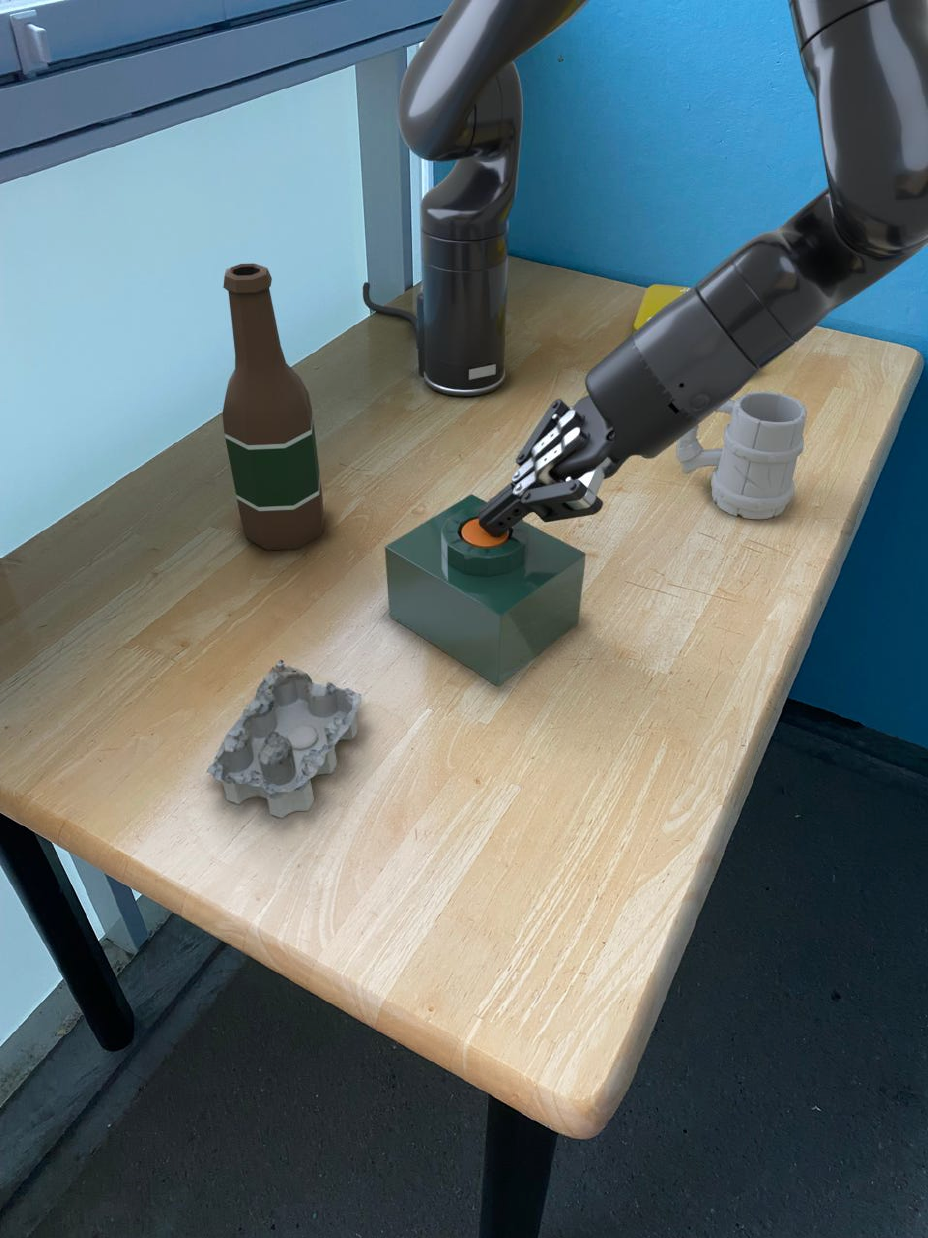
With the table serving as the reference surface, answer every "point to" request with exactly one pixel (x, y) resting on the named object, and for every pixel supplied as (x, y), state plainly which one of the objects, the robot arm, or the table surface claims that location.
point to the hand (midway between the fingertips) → (486, 525)
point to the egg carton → (285, 740)
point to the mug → (752, 454)
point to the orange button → (481, 536)
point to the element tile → (656, 301)
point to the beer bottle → (268, 424)
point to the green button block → (484, 591)
